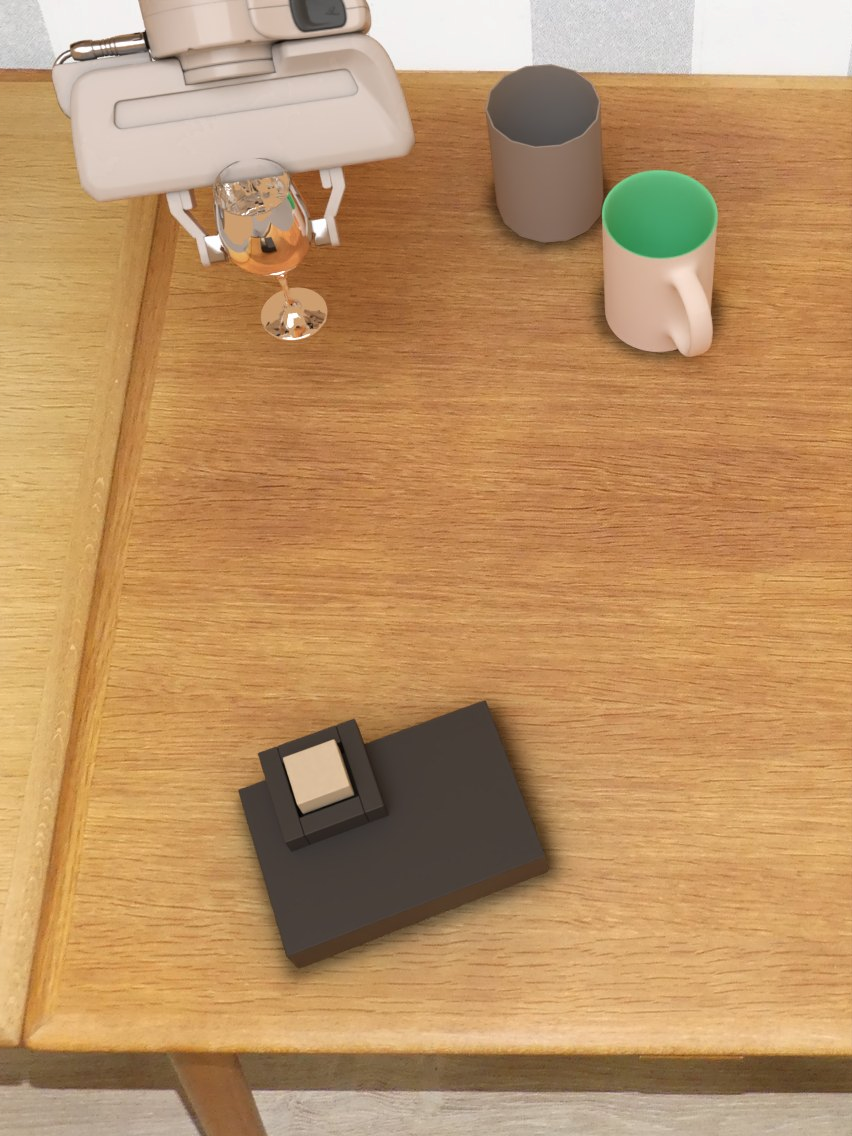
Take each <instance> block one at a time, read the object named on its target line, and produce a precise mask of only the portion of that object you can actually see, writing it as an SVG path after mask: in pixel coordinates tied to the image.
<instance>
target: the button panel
mask: <svg viewBox="0 0 852 1136" xmlns="http://www.w3.org/2000/svg"><path fill="white" fill-rule="evenodd" d="M331 740H335V741H336V743H337V745H338V747H339V749H340V752H341V755H342V758H343V761H344V764H345V767H346V770H347V773H348V776H349V779H350V782H351V785H352V788H353V791H354V796H351V797H348V798H345V799H343V800H340V801H337V802H335V803H332V804H329V805H327V806H324V807H321V808H318V809H316V810H313V811H310V812H308V813H305V814H303V813H302V811H301V810H300V808H299V807H298V805H297V803H296V799H295V796H294V793H293V790H292V786H291V783H290V780H289V777H288V774H287V770H286V767H285V764H284V761H283V758H284V757H286V756H289V755H292V754H295V753H297V752H300V751H303V750H306V749H308V748H311V747H314V746H317V745H319V744H322V743H325V742H328V741H331ZM257 756H258V760H259V763H260V767H261V769H262V772H263V775H264V780H262V781H258V782H256V783H254V784H250V785H248V786H245V787H242V788H239V789H238V796H239V798H240V802H241V806H242V809H243V812H244V816H245V819H246V823H247V826H248V829H249V833H250V837H251V839H252V843H253V846H254V850H255V854H256V856H257V861H258V864H259V867H260V871H261V874H262V877H263V881H264V885H265V887H266V891H267V894H268V897H269V898H268V899H269V902H270V905H271V908H272V912H273V915H274V918H275V922H276V925H277V929H278V932H279V937H280V939H281V943H282V946H283V949H284V953H285V956H286V958H287V959H289V961H290V962H291V963H292V965H294V966H295V967H296V968H297V969H299V970H300V969H301V968H304V967H307V966H309V965H312V964H315V963H318V962H321V961H323V960H325V959H328V958H330V957H332V956H336V955H337V954H340V953H343V952H346V951H347V950H350V949H353V948H356V947H358V946H361V945H363V944H366V943H368V942H370V941H373V940H376V939H378V938H381V937H384V936H387V935H389V934H391V933H394V932H396V931H399V930H402V929H404V928H407V927H410V926H412V925H415V924H418V923H419V922H422V921H425V920H428V919H430V918H432V917H435V916H438V915H441V914H443V913H446V912H448V911H450V910H453V909H456V908H458V907H460V906H463V905H466V904H468V903H470V902H473V901H476V900H478V899H481V898H484V897H486V896H489V895H491V894H494V893H497V892H499V891H501V890H505V889H506V888H509V887H513V886H515V885H517V884H519V883H522V882H524V881H525V882H526V881H527V880H529V879H533V878H534V877H535V878H536V877H537V876H540V875H542V874H545V873H548V871H549V866H548V860H547V855H546V853H545V850H544V847H543V845H542V842H541V839H540V837H539V834H538V832H537V829H536V826H535V824H534V821H533V818H532V816H531V814H530V811H529V808H528V806H527V803H526V800H525V798H524V796H523V794H522V790H521V788H520V785H519V782H518V780H517V778H516V774H515V773H514V769H513V767H512V764H511V762H510V759H509V756H508V754H507V751H506V748H505V746H504V743H503V740H502V739H501V736H500V733H499V731H498V728H497V724H496V723H495V719H494V717H493V715H492V712H491V709H490V707H489V705H488V702H487V700H486V699H484V700H481V701H478V702H475V703H473V704H470V705H468V706H465V707H462V708H459V709H457V710H454V711H451V712H448V713H445V714H443V715H440V716H437V717H434V718H432V719H429V720H426V721H424V722H421V723H419V724H416V725H413V726H410V727H406V728H405V729H401V730H398V731H397V732H394V733H390V734H387V735H386V736H383V737H379V738H377V739H374V740H372V741H369V742H366V743H365V741H364V738H363V734H362V732H361V729H360V727H359V725H358V722H357V720H356V719H355V718H351V719H349V720H346V721H344V722H340V723H338V724H336V725H331V726H329V727H326V728H324V729H321V730H318V731H315V732H312V733H310V734H307V735H304V736H302V737H298V738H296V739H293V740H290V741H288V742H285V743H281V744H279V745H277V746H273V747H271V748H268V749H265V750H263V751H259V752H258V753H257Z"/></svg>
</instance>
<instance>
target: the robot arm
mask: <svg viewBox="0 0 852 1136" xmlns="http://www.w3.org/2000/svg"><path fill="white" fill-rule="evenodd" d="M137 2H138V4H139V5H138V6H139V11H140V14H141V18H142V22H143V27H144V31H138V32H133V33H126V34H125V33H124V34H119V35H114V36H111V37H107V38H101V39H95V40H93V39H82V40H78V41H75V42H71V43H70V44H69V49H67V50H65V51H63V52H62V53H61V54H60V55H58V57H56V59H55V60H54V63H53V64H52V68H51V81H52V82H51V83H52V86H53V90H54V93H55V97H56V102H57V104H58V107H59V108H60V110H61V112H62V113H63V114H64V115H65V117H66V118H68V119H69V120H70V128H71V130H70V131H71V138H72V139H71V140H72V147H73V153H74V159H75V165H76V170H77V175H78V180H79V183H80V186H81V189H82V190H83V192H84V193H85V194H87V195H88V196H89V197H90V198H91V199H93V200H94V201H96V202H97V203H99V204H100V203H101V204H104V203H111V202H117V201H126V200H131V199H138V198H144V197H149V196H155V195H162V194H165V196H166V201H167V205H168V209H169V211H170V214H171V215H172V216H173V217H174V219H175V220H176V221H177V222H178V223H179V225H181V227H183V229H184V230H185V231H186V232H187V233H188V234H189V235H190V236H191V238H192V239H195V241H196V245H197V250H198V255H199V258H200V259H199V260H200V262H201V264H202V267H203V268H205V267H213V266H219V265H223V264H228V263H229V262H230V258H229V257H228V255H227V253H226V252H225V250H224V248H223V247H222V245H221V243H220V240H219V238H218V235H217V233H215V234H210V233H209V232H208V231H207V229H206V228H205V227H204V226H203V225H202V223H200V221H199V220H198V219H197V218H196V217H195V215H194V214H193V213H192V212H191V211H190V210H193V209H196V208H197V207H198V202H197V198H196V195H195V189H201V188H208V187H213V184H214V182H215V179H216V177H217V176H218V175H219V174H220V172H221V171H222V170H223V169H225V168H226V167H227V166H229V165H231V164H233V163H234V162H237V161H240V162H239V163H237V164H235V165H234V166H233V167H231V168H230V169H229V170H228V172H227V173H226V175H225V177H224V178H223V182H222V183H223V184H229V183H236V182H242V181H249V180H256V179H262V178H269V177H275V176H282V175H284V174H283V172H282V171H281V170H280V169H278V168H277V167H275V166H274V165H273V164H271V163H269V162H266V161H264V160H259V159H255V158H264V159H269V160H272V161H274V162H277V163H278V164H280V165H281V166H282V167H284V168H285V170H286V171H287V172H288V174H289V175H295V174H301V173H307V172H315V171H318V172H319V177H320V182H321V186H322V188H323V189H325V190H326V189H331V188H332V189H331V192H330V195H329V199H328V202H327V205H326V208H325V212H324V214H323V217H318V218H314V219H313V218H312V223H313V234H314V235H315V236H314V242H315V243H314V244H315V247H316V249H317V250H319V249H326V248H333V247H340V246H341V245H342V244H341V237H340V233H339V228H338V222H337V216H338V213H339V210H340V207H341V204H342V202H343V198H344V196H345V192H346V189H347V186H348V185H347V180H346V176H345V175H346V174H345V170H344V167H346V166H347V167H348V166H353V165H354V166H355V165H361V164H369V163H376V162H377V163H378V162H382V161H389V160H396V159H403V158H406V157H408V156H409V155H410V154H411V153H412V152H413V149H414V148H415V146H416V142H417V141H416V140H417V139H416V134H415V130H414V125H413V122H412V117H411V114H410V110H409V106H408V102H407V99H406V96H405V92H404V90H403V88H402V84H401V81H400V78H399V76H398V74H397V73H398V72H397V71H396V68H395V65H394V63H393V61H392V58H391V57H390V55H389V53H388V51H386V48H385V47H384V46H383V45H382V44H381V42H379V41H378V40H377V39H376V38H374V37H372V36H370V35H368V33H369V32H370V31H371V28H372V14H371V7H370V5H369V2H367V0H137ZM71 57H72V59H73V62H66V61H67V60H69V59H70V58H71ZM242 160H243V161H242Z"/></svg>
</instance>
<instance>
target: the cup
mask: <svg viewBox="0 0 852 1136" xmlns="http://www.w3.org/2000/svg"><path fill="white" fill-rule="evenodd" d="M484 111H485V119H486V127H487V135H488V142H489V150H490V159H491V166H492V167H491V168H492V175H493V183H494V190H495V201H496V208H497V210H498V212H499V215H500V217H501V219H502V222H503V224H504V225H505V226H507V227H508V228H509V229H511V230H512V231H513V232H514V233H515V234H517V235H518V236H519V237H521V238H525V239H527V240H532V241H535V242H538V243H555V242H556V243H558V242H567V241H570V240H572V239H574V238H576V237H577V236H580V235H582V234H585V233H586V232H588V231H589V230H590V229H591V228H592V226H593V225H594V224H595V223H596V222H597V220H598V219H599V218H600V217H601V216H602V208H603V204H604V170H603V169H604V167H603V164H604V163H603V138H602V137H603V133H602V131H603V130H602V101H601V98H600V96H599V94H598V92H597V90H596V88H595V85H594V83H593V82H592V81H590V80H589V79H588V78H586V77H585V76H583V75H582V74H581V73H579V72H578V71H577V70H575V69H572V68H568V67H565V66H561V65H560V66H559V65H557V64H552V63H548V64H533V65H525V66H523V67H521V68H517V69H516V70H514V71H511V72H509V73H507V74H504V75H503V76H502V77H501V78H500V79H499V80H498V81H497V83H495V85H494V86H492V88H490V90H489V93H488V95H487V100H486V105H485V109H484Z"/></svg>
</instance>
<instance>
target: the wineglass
mask: <svg viewBox="0 0 852 1136" xmlns="http://www.w3.org/2000/svg"><path fill="white" fill-rule="evenodd" d="M255 159H259V160H264V161H266V162H269V163H271V164H273V165H274V166H275V167H277V168H278V169H280V170H281V171H282V172H283V174H284V175H282V176H275V177H269V178H262V179H256V180H249V181H242V182H236V183H229V184H223V183H222V182H223V178H224V177H225V175H226V173H227V172H228V170H229V169H230V168H231V167H233V166H234V165H235V164H237V163H239V162H240V161H237V162H234V163H233V164H231V165H229V166H227V167H226V168H225V169H223V170H222V171H221V172H220V174H219V175H218V176H217V177H216V179H215V182H214V184H213V186H212V190H211V191H212V213H213V221H214V226H215V231H216V234H217V235H218V238H219V240H220V243H221V245H222V247H223V248H224V250H225V252H226V253H227V255H228V258H229V260H231V261H232V262H233V263H234V265H236V266H237V267H238V268H240V269H241V270H243V271H245V272H248V273H250V274H253V275H256V276H262V277H274V278H275V279H276V280H277V281H278V283H279V285H280V287H281V290H279V291H277V292H275V293H274V294H272V295H271V296H270V297H269V298H267V300H266V301H265V302H264V304H263V306H262V308H261V311H260V322H261V326H262V327H263V329H264V330H265V332H267V333H268V335H270V336H271V337H274V338H275V339H278V340H281V341H286V342H294V341H301V340H304V339H307V338H309V337H311V336H314V335H315V334H317V332H319V331H320V330H321V329H322V328H323V326H324V325H325V323H326V322H327V319H328V314H329V308H328V304H327V302H326V300H325V298H324V297H323V296H322V295H321V294H320V293H318V292H317V291H315V290H313V289H310V288H308V287H307V288H306V287H301V286H300V287H299V286H297V287H296V286H295V287H293V286H292V287H290V286H289V279H288V275H289V272H291V271H292V270H294V269H295V268H297V267H298V266H299V265H301V264H302V262H303V261H304V260H305V259H306V257H307V256H308V254H309V253H310V251H311V248H312V245H313V240H314V232H313V223H312V220H313V217H312V214H311V211H310V208H309V205H308V203H307V201H306V199H305V196H304V195H303V194H302V192H301V190H300V189H299V186H298V185H297V183H296V182H295V180H294V179H293V177H292V176H291V174H288V172H287V171H286V170H285V168H284V167H282V166H281V165H280V164H278V163H277V162H274V161H272V160H269V159H264V158H255ZM242 161H243V160H242Z"/></svg>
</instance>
